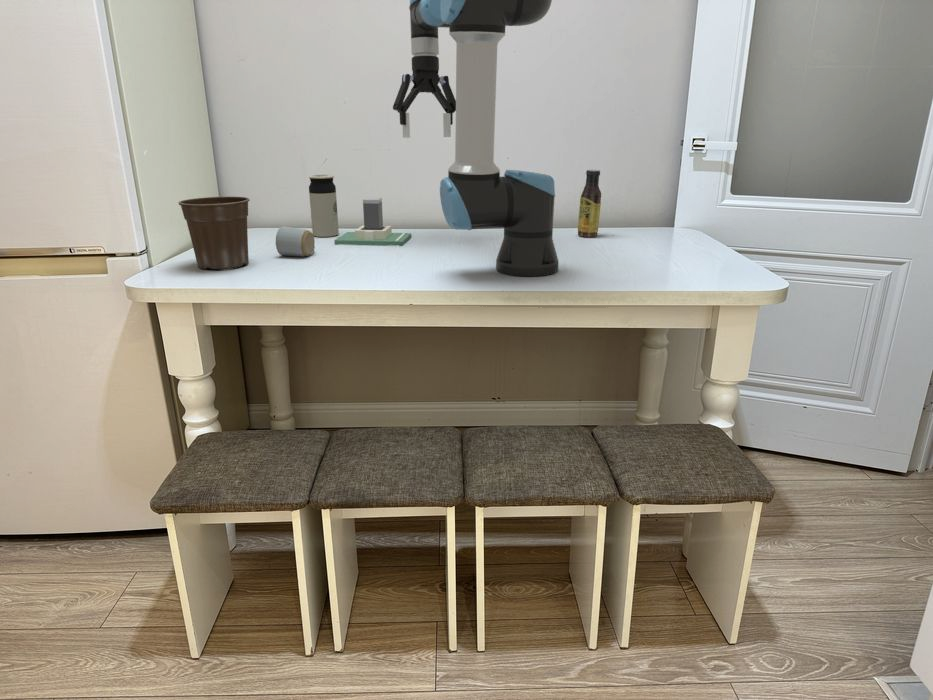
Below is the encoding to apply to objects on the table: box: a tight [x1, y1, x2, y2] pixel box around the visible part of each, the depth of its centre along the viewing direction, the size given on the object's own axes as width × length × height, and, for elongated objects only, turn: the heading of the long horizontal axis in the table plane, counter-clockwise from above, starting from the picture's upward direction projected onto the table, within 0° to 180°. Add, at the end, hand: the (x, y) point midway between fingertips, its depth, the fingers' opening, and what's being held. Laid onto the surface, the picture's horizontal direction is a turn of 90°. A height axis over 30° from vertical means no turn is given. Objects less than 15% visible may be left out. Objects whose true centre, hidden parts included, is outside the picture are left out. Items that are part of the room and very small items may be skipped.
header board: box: [333, 224, 412, 247], centre depth 192 cm, size 14×20×4 cm
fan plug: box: [362, 197, 384, 230], centre depth 191 cm, size 4×4×11 cm
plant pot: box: [178, 196, 251, 270], centre depth 159 cm, size 16×16×16 cm
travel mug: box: [308, 174, 340, 238], centre depth 198 cm, size 8×8×18 cm
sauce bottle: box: [577, 168, 602, 238], centre depth 196 cm, size 6×6×20 cm
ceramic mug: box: [275, 225, 316, 258], centre depth 173 cm, size 11×8×8 cm
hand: (427, 137), depth 185 cm, fingers open, 13 cm apart
